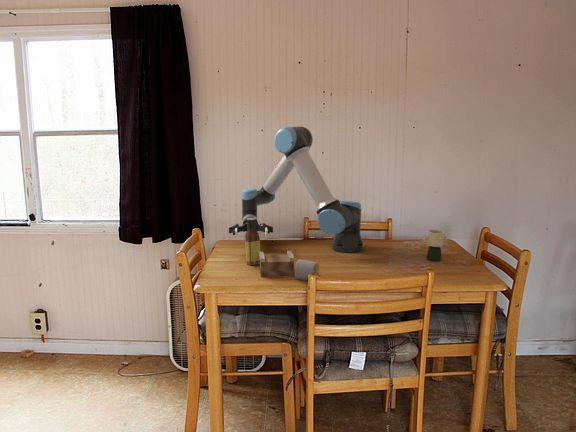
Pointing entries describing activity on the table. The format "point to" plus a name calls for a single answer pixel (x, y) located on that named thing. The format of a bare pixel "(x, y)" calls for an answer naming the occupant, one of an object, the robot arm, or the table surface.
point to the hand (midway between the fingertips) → (251, 234)
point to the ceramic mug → (305, 269)
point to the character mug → (434, 243)
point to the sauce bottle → (252, 243)
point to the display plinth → (276, 265)
